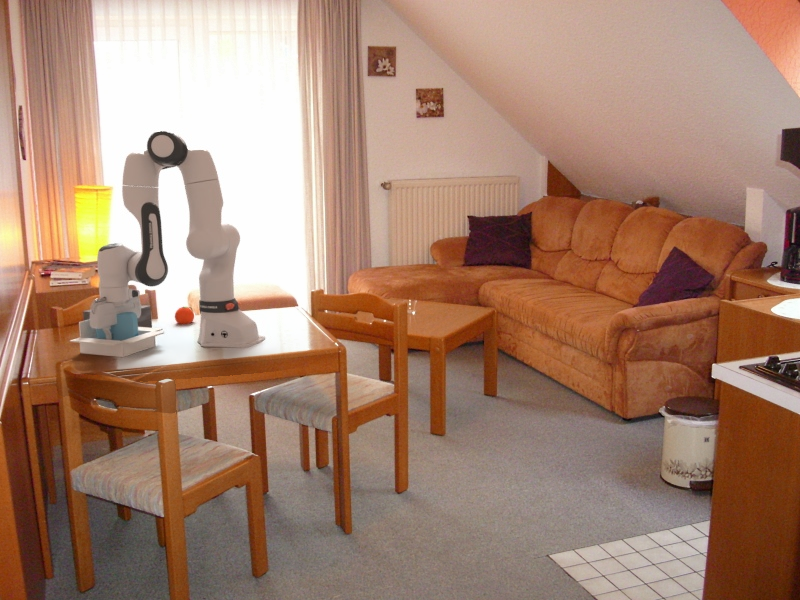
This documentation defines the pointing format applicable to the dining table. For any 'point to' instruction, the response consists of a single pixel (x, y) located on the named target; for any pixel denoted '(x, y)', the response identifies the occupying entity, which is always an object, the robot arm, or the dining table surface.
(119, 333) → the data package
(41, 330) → the dining table surface
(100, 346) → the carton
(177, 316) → the clementine
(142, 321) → the riser
